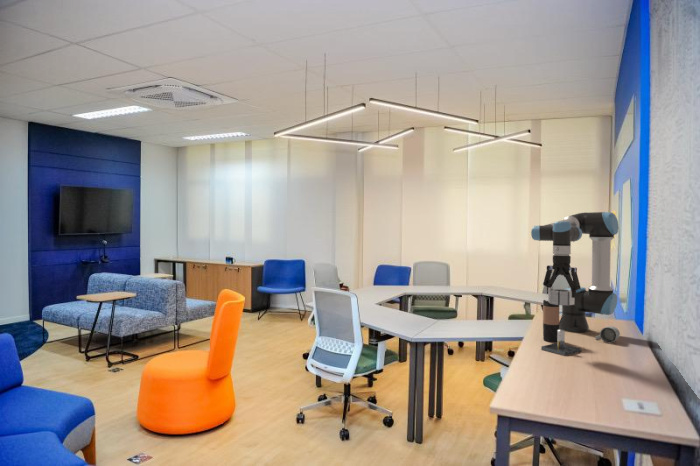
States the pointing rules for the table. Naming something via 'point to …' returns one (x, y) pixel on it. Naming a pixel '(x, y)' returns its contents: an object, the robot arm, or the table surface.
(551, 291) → the ring
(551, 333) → the travel mug
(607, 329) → the ceramic mug
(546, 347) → the shaft block
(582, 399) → the table surface
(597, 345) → the table surface
